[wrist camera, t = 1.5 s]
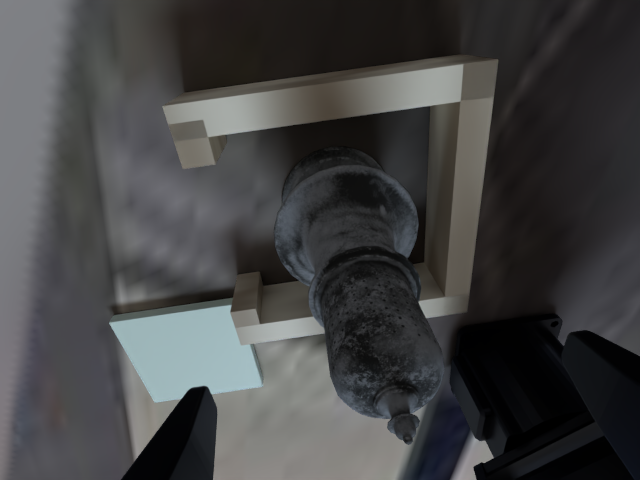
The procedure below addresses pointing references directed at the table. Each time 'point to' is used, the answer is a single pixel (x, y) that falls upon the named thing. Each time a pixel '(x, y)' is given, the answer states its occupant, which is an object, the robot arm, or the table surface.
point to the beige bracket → (348, 101)
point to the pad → (187, 349)
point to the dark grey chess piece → (361, 282)
